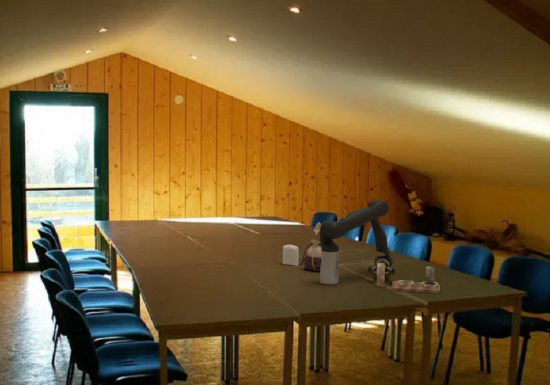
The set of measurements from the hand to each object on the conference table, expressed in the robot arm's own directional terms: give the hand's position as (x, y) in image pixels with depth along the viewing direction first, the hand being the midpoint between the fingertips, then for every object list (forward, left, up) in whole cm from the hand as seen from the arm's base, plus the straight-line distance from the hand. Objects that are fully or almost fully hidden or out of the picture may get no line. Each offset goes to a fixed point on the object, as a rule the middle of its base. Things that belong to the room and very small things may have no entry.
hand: (381, 272), depth 327 cm
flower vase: (-37, +57, -7) cm, 68 cm away
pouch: (-39, +27, -7) cm, 48 cm away
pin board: (+18, -4, -7) cm, 20 cm away
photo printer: (-57, +42, -7) cm, 71 cm away
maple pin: (0, -4, -7) cm, 8 cm away
